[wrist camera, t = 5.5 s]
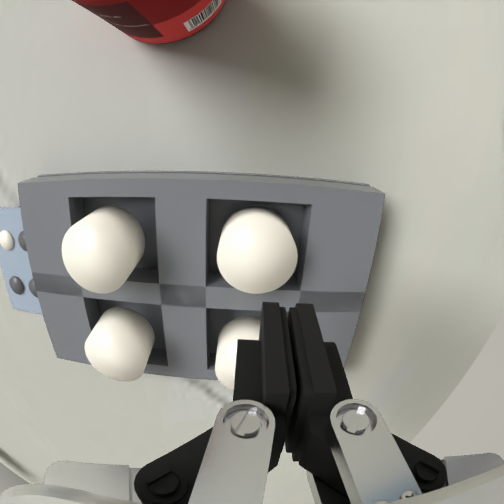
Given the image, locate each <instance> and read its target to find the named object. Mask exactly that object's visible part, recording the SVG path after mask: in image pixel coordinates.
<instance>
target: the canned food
mask: <svg viewBox="0 0 504 504" xmlns="http://www.w3.org/2000/svg"><path fill="white" fill-rule="evenodd" d="M72 1H74V2H76V3H77V4H79V5H81V6H82V7H84V8H86V9H87V10H89V11H91V12H92V13H94V14H96V15H97V16H99V17H100V18H102V19H104V20H105V21H107V22H108V23H110V24H111V25H113V26H115V27H116V28H118V29H119V30H121V31H122V32H124V33H125V34H127V35H128V36H130V37H132V38H134V39H136V40H138V41H141V42H145V43H155V44H160V43H169V42H175V41H178V40H182V39H185V38H187V37H189V36H192V35H194V34H195V33H197V32H198V31H200V30H202V29H203V28H204V27H205V26H207V25H208V24H209V23H210V22H211V21H212V20H213V19H214V17H215V16H216V15H217V14H218V13H219V11H220V10H221V8H222V6H223V4H224V3H225V0H72Z"/></svg>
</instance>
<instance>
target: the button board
mask: <svg viewBox="0 0 504 504" xmlns="http://www.w3.org/2000/svg"><path fill="white" fill-rule="evenodd" d="M18 192H19V201H20V207H4V208H0V264H1V268H2V272H3V276H4V280H5V283H6V287H7V290H8V294H9V297H10V301H11V304H12V307H13V309H18V310H23V311H28V312H34V313H39V314H43V317H44V320H45V323H46V327H47V330H48V333H49V336H50V339H51V342H52V344H53V347H54V350H55V353H56V356H57V358H61V359H66V360H70V361H75V362H80V363H85V364H91V363H90V362H89V360H88V358H87V356H86V354H85V348H84V347H85V342H86V340H87V338H88V336H89V335H90V333H91V332H92V330H93V328H94V327H95V325H96V324H97V322H98V321H99V319H100V317H101V316H102V314H103V313H104V312H105V311H106V310H108V309H110V308H113V307H125V308H129V309H132V310H134V311H136V312H138V313H139V314H141V315H142V316H143V317H144V318H146V319H147V321H148V322H149V323H150V325H151V326H152V328H153V331H154V334H155V341H154V345H153V347H152V350H151V353H150V356H149V359H148V361H147V364H146V367H145V370H144V372H143V373H148V374H156V375H164V376H174V377H184V378H195V379H209V380H218V378H217V376H216V373H215V363H216V354H217V345H218V337H219V333H220V331H221V329H222V328H223V327H224V326H225V325H226V324H227V323H228V322H230V321H232V320H234V319H236V318H240V317H245V316H254V317H260V318H261V310H262V302H279V305H280V307H285V308H286V315H287V320H288V313H289V308H290V307H295V305H296V303H305V304H313V305H314V309H315V312H316V316H317V319H318V323H319V326H320V330H321V334H322V337H323V341H324V342H334V343H335V344H336V346H337V349H338V352H339V355H340V358H341V361H342V365H343V368H344V366H345V363H346V360H347V357H348V353H349V350H350V347H351V343H352V340H353V337H354V333H355V330H356V326H357V322H358V319H359V315H360V311H361V308H362V304H363V300H364V296H365V292H366V288H367V284H368V279H369V275H370V271H371V266H372V262H373V257H374V253H375V248H376V243H377V238H378V233H379V227H380V222H381V216H382V211H383V205H384V199H385V193H383V192H381V191H379V190H378V189H376V188H374V187H370V185H368V184H362V183H354V182H345V181H336V180H326V179H316V178H305V177H293V176H280V175H266V174H249V173H229V172H201V171H110V172H83V173H64V174H49V175H39V176H38V177H35V178H31V179H28V180H25V181H23V182H20V183H18ZM255 205H258V206H265V207H268V208H271V209H273V210H274V211H276V212H277V213H279V214H280V215H281V216H282V217H283V218H284V220H285V221H286V223H287V225H288V227H289V230H290V232H291V235H292V237H293V240H294V242H295V245H296V248H297V254H298V257H297V265H296V268H295V270H294V272H293V274H292V276H291V277H290V278H289V280H288V281H287V282H286V283H285V284H283V285H282V286H281V287H279V288H277V289H275V290H273V291H270V292H267V293H261V294H252V293H246V292H243V291H240V290H238V289H236V288H234V287H233V286H231V285H230V284H229V283H228V282H227V281H226V280H225V279H224V277H223V276H222V274H221V273H220V271H219V268H218V264H217V250H218V246H219V241H220V237H221V232H222V228H223V226H224V224H225V222H226V221H227V219H228V218H229V217H230V216H231V215H232V214H233V213H234V212H236V211H237V210H239V209H241V208H244V207H247V206H255ZM104 206H117V207H120V208H123V209H125V210H127V211H128V212H130V213H131V214H132V215H133V216H134V217H135V218H136V219H137V220H138V222H139V223H140V225H141V227H142V229H143V232H144V236H145V250H144V254H143V256H142V258H141V260H140V261H139V263H138V264H137V265H136V267H135V268H134V270H133V271H132V273H131V274H130V275H129V277H128V278H127V280H126V281H125V283H124V284H123V285H122V286H121V287H120V288H119V289H117V290H116V291H113V292H111V293H105V294H100V293H94V292H91V291H89V290H86V289H85V288H83V287H82V286H80V285H79V284H78V283H77V282H75V280H74V279H73V278H72V277H71V276H70V274H69V273H68V271H67V269H66V267H65V265H64V262H63V258H62V242H63V238H64V236H65V234H66V232H67V231H68V229H69V228H70V227H71V226H73V225H74V224H75V223H77V222H78V221H80V220H81V219H83V218H84V217H86V216H87V215H89V214H90V213H92V212H93V211H95V210H97V209H98V208H101V207H104ZM91 365H92V364H91Z"/></svg>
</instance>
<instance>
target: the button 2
mask: <svg viewBox="0 0 504 504" xmlns="http://www.w3.org/2000/svg"><path fill="white" fill-rule="evenodd" d="M154 341H155V334H154V331H153V328H152V326H151V325H150V323H149V322H148V321H147V319H146V318H144V317H143V316H142V315H141V314H139V313H138V312H136V311H134V310H132V309H129V308H125V307H113V308H110V309H108V310H106V311H105V312H104V313H103V314H102V316H101V317H100V319H99V321H98V322H97V324H96V325H95V327H94V328H93V330H92V332H91V333H90V335H89V336H88V338H87V340H86V342H85V347H84V348H85V354H86V356H87V358H88V360H89V362H90V363H91V364H92V366H93V367H94V368H95V369H96V370H98V371H99V372H100V373H102V374H103V375H105V376H107V377H109V378H111V379H114V380H118V381H133V380H136V379H138V378H139V377H140V376H141V375H142V374H143V372H144V370H145V367H146V364H147V361H148V359H149V356H150V353H151V350H152V347H153V345H154Z"/></svg>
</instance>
